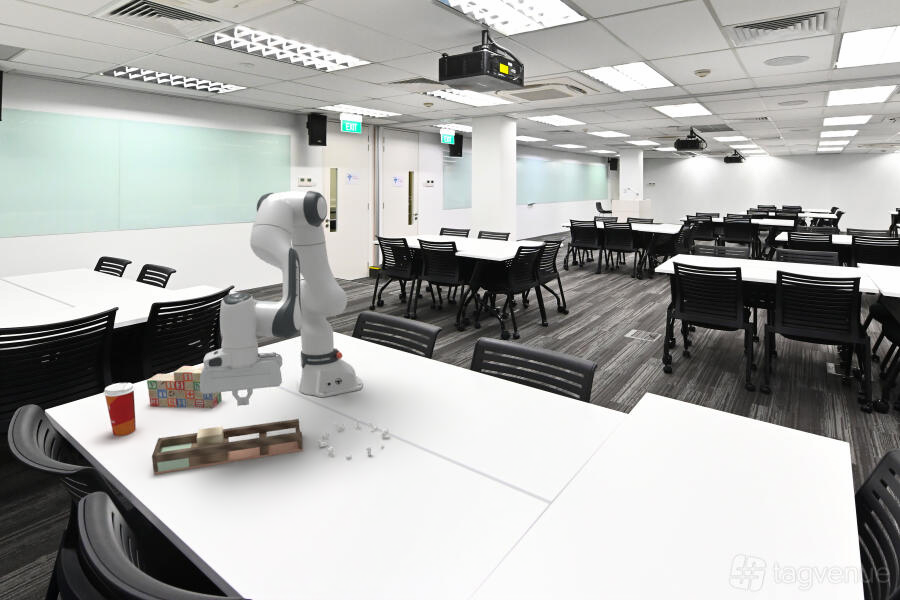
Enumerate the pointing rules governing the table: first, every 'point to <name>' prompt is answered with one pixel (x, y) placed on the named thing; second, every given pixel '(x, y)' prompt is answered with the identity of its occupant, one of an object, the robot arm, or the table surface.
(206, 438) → the maple block
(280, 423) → the track
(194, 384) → the stack of blocks
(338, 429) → the game piece set
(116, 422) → the paper cup
